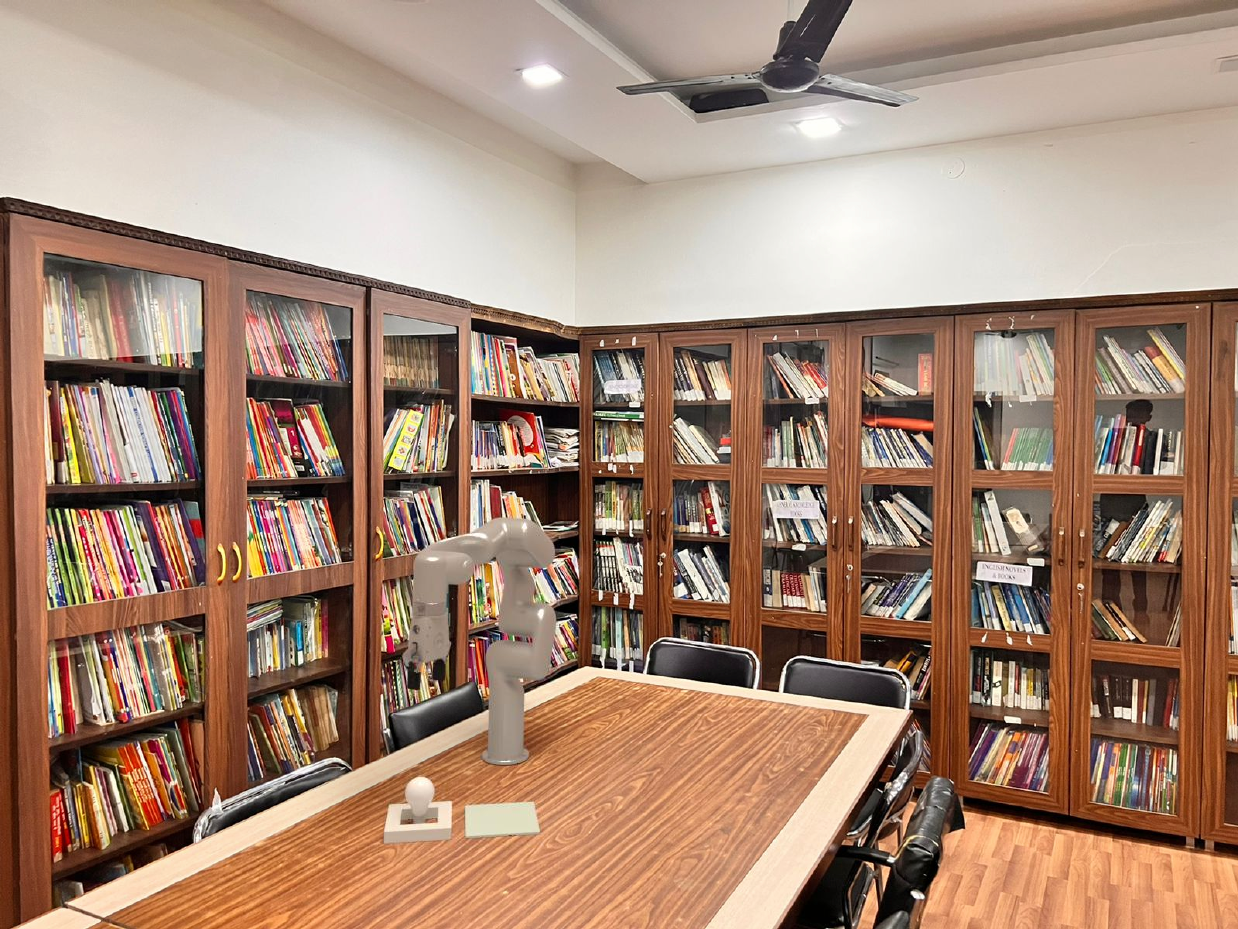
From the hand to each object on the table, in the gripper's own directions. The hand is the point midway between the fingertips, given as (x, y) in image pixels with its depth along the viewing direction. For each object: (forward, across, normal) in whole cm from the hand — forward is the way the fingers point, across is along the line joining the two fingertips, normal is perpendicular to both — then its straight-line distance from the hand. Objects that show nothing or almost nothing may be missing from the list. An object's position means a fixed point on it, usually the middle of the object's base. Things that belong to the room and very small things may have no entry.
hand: (426, 684), depth 196 cm
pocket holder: (+30, -4, -3) cm, 31 cm away
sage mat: (+30, +6, -17) cm, 35 cm away
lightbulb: (+30, -4, -3) cm, 31 cm away
